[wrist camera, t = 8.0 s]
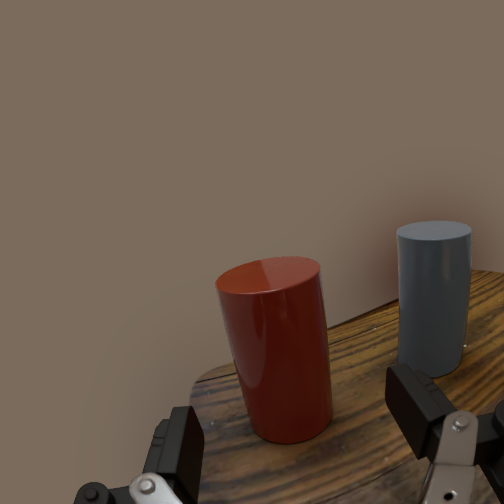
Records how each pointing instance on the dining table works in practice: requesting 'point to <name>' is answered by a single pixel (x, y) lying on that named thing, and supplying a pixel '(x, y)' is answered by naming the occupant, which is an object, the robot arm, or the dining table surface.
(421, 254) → the grey upright cylinder
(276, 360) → the glossy red cylinder
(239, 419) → the dining table surface
